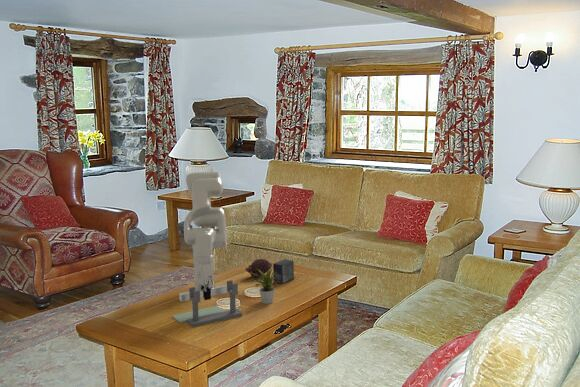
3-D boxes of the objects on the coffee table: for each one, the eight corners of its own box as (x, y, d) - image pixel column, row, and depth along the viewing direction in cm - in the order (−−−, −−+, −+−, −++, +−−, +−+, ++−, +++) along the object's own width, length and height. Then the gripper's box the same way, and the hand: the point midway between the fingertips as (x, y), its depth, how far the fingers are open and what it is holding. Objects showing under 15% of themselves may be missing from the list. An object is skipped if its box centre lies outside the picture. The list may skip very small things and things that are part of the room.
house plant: (256, 295, 298) (255, 263, 295) (284, 296, 295) (283, 264, 293) (248, 305, 284) (247, 271, 282) (277, 306, 282) (276, 273, 279)
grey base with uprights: (186, 322, 263) (185, 288, 261) (236, 311, 276) (235, 279, 273) (192, 327, 258) (190, 292, 256) (242, 315, 271) (241, 282, 268)
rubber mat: (172, 316, 271) (172, 315, 271) (230, 304, 286) (230, 302, 286) (180, 323, 263) (179, 321, 263) (239, 309, 278) (239, 308, 278)
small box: (284, 277, 326) (284, 258, 325) (294, 279, 323) (294, 260, 321) (272, 282, 318) (272, 263, 316) (282, 284, 314) (282, 265, 312)
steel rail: (179, 299, 268) (179, 293, 267) (228, 290, 280) (228, 283, 280) (181, 301, 265) (181, 295, 265) (231, 291, 278) (230, 285, 277)
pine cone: (266, 271, 337) (266, 254, 335) (278, 275, 330) (278, 257, 328) (241, 278, 325) (241, 260, 323) (253, 282, 318) (253, 264, 316)
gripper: (189, 256, 275) (191, 295, 278) (204, 264, 261) (205, 305, 264) (204, 253, 279) (206, 292, 282) (219, 261, 265) (221, 301, 268)
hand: (205, 298), depth 273 cm, fingers closed on steel rail, 3 cm apart
